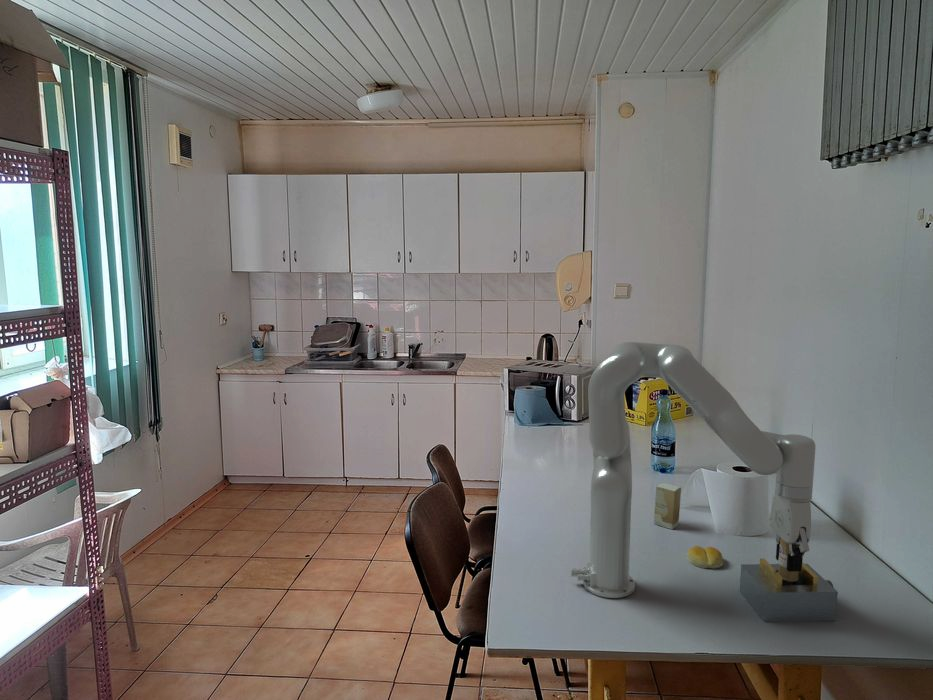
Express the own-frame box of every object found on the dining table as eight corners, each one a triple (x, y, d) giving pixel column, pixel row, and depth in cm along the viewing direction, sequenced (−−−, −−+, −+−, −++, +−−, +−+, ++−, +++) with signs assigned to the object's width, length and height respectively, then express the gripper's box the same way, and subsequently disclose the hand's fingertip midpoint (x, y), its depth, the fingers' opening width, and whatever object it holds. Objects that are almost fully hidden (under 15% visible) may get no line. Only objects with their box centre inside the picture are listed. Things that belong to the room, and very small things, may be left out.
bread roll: (685, 553, 179) (686, 540, 179) (720, 557, 177) (721, 543, 177) (688, 568, 171) (688, 553, 171) (724, 571, 169) (725, 557, 169)
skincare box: (653, 524, 198) (654, 485, 196) (659, 519, 201) (661, 481, 199) (673, 530, 193) (675, 490, 192) (679, 525, 197) (681, 486, 195)
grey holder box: (763, 621, 146) (766, 582, 145) (739, 591, 159) (741, 554, 158) (844, 620, 146) (847, 581, 145) (813, 590, 159) (816, 553, 158)
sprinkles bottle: (773, 573, 154) (776, 519, 152) (791, 572, 154) (795, 518, 152) (784, 583, 149) (787, 527, 147) (803, 582, 150) (807, 526, 147)
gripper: (760, 477, 157) (756, 548, 160) (795, 504, 140) (790, 584, 143) (791, 476, 157) (786, 548, 160) (830, 504, 140) (824, 583, 143)
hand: (788, 564), depth 151 cm, fingers closed on sprinkles bottle, 4 cm apart
